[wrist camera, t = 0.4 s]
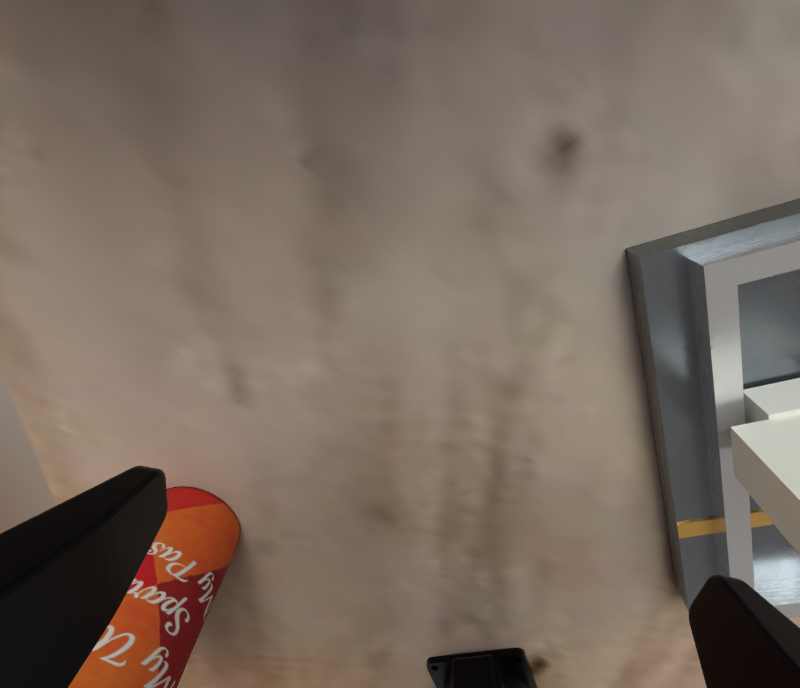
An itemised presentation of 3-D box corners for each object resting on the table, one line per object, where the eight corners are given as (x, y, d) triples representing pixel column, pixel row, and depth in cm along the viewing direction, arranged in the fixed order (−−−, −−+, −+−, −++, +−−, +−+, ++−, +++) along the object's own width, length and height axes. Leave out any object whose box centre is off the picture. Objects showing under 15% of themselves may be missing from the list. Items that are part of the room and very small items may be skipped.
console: (853, 563, 24) (899, 612, 22) (676, 586, 26) (699, 633, 23) (876, 176, 17) (950, 184, 14) (625, 248, 18) (652, 266, 16)
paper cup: (280, 515, 27) (127, 866, 14) (226, 585, 30) (60, 924, 17) (156, 447, 25) (-136, 765, 13) (113, 527, 28) (-157, 847, 16)
